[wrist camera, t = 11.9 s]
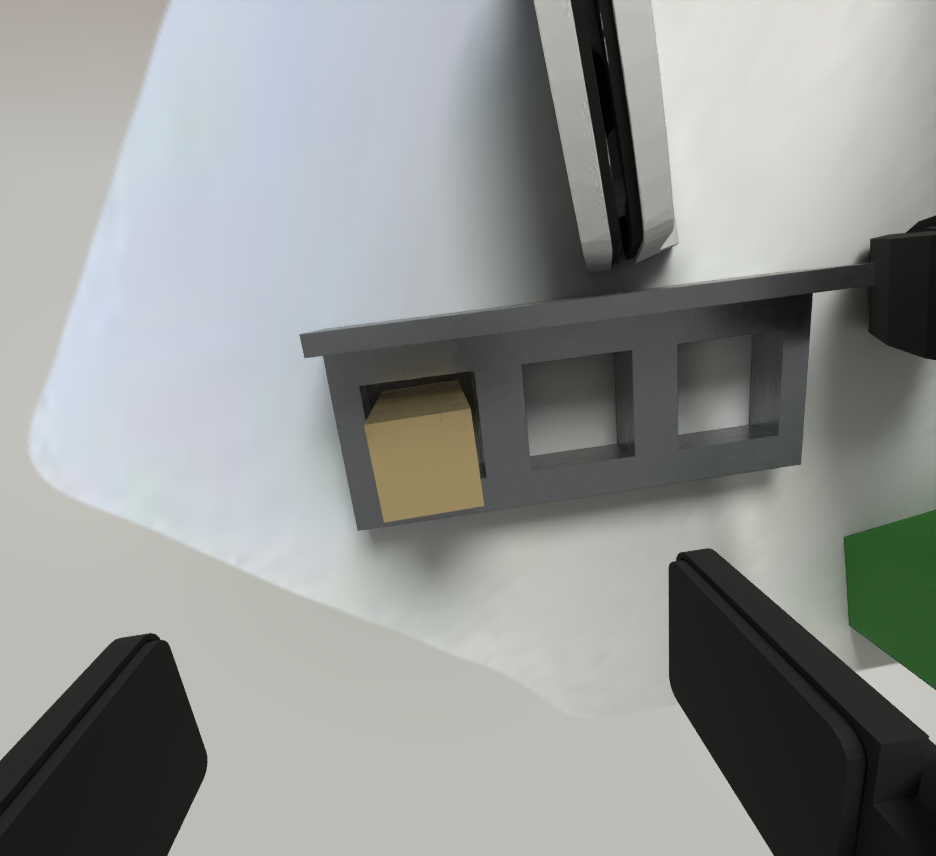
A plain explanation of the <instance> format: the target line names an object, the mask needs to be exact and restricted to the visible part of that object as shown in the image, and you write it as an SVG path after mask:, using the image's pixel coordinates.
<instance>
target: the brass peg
mask: <svg viewBox="0 0 936 856" xmlns="http://www.w3.org/2000/svg"><path fill="white" fill-rule="evenodd" d="M364 427H365V432H366V437H367V442H368V447H369V452H370V457H371V462H372V466H373V471H374V476H375V481H376V486H377V491H378V496H379V501H380V506H381V511H382V515H383V520H384V523H385V522H391V521H397V520H403V519H409V518H415V517H421V516H427V515H433V514H439V513H445V512H451V511H457V510H463V509H469V508H475V507H481V506H484V500H483V493H482V486H481V479H480V472H479V464H478V457H477V450H476V443H475V436H474V429H473V422H472V415H471V408H470V406H469V404H468V402H467V399H466V397H465V395H464V393H463V391H462V388H461V386H460V384H459V382H458V380H453V381H446V382H440V383H433V384H427V385H420V386H413V387H407V388H400V389H394V390H387V391H382V392H381V394H380V396H379V398H378V399H377V401H376V403H375V405H374V407H373V409H372V411H371V413H370V415H369V417H368V418H367V420H366V422H365V424H364Z"/></svg>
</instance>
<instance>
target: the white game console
mask: <svg viewBox="0 0 936 856" xmlns="http://www.w3.org/2000/svg"><path fill="white" fill-rule="evenodd" d="M534 6H535V11H536V16H537V21H538V26H539V31H540V37H541V42H542V47H543V52H544V57H545V62H546V67H547V73H548V78H549V83H550V88H551V93H552V98H553V103H554V108H555V113H556V119H557V124H558V129H559V134H560V139H561V144H562V149H563V154H564V159H565V164H566V169H567V174H568V179H569V185H570V190H571V195H572V200H573V205H574V210H575V215H576V220H577V225H578V230H579V235H580V240H581V245H582V250H583V255H584V258H585V262H586V266H587V269H588V272H597V271H610V270H611V265H612V264H615V263H618V258H619V253H620V249H621V234H620V226H619V218H621V217H623V216H626V220H624V221H622V226H621V232H622V238H623V244H624V250H625V256H626V260H630V259H633V258H634V261H635V264H636V263H638V262H640V261H642V260H644V259H646V258H649V257H651V256H653V255H655V254H657V253H659V252H661V251H664V250H666V249H668V248H670V247H672V246H674V245H677V244H678V236H677V229H676V222H675V215H674V208H673V198H672V186H671V174H670V163H669V153H668V142H667V132H666V122H665V113H664V105H663V96H662V87H661V78H660V69H659V61H658V52H657V44H656V36H655V28H654V20H653V12H652V6H651V0H534ZM592 51H595V52H597V53H598V54H600V55H601V57H602V59H603V61H604V66H605V71H606V77H607V83H608V89H609V95H610V101H611V108H612V114H613V120H614V126H613V129H612V131H611V133H610V135H609V136H608V137H607V138H606V134H605V128H604V122H603V116H602V110H601V104H600V98H599V92H598V86H597V80H596V73H595V67H594V61H593V55H592Z"/></svg>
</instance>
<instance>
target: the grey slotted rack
mask: <svg viewBox="0 0 936 856" xmlns="http://www.w3.org/2000/svg"><path fill="white" fill-rule="evenodd" d="M875 272H876V262H874V263H864V264H855V265H845V266H835V267H825V268H815V269H806V270H796V271H786V272H777V273H769V274H761V275H753V276H745V277H737V278H729V279H721V280H713V281H705V282H697V283H689V284H681V285H673V286H665V287H657V288H649V289H641V290H633V291H625V292H617V293H609V294H601V295H593V296H585V297H577V298H569V299H561V300H553V301H545V302H537V303H529V304H521V305H513V306H505V307H497V308H489V309H481V310H473V311H465V312H457V313H449V314H441V315H433V316H425V317H417V318H409V319H401V320H393V321H385V322H377V323H369V324H361V325H353V326H345V327H337V328H329V329H324V330H319V331H314V332H309V333H304V334H300V339H301V343H302V348H303V353H304V358H309V357H316V356H323V358H324V363H325V368H326V373H327V378H328V383H329V388H330V393H331V398H332V403H333V408H334V413H335V418H336V424H337V429H338V434H339V439H340V444H341V449H342V454H343V459H344V464H345V469H346V474H347V479H348V484H349V489H350V494H351V499H352V504H353V509H354V514H355V519H356V524H357V529H358V531H359V530H365V529H372V528H379V527H386V526H392V525H399V524H406V523H412V522H419V521H426V520H432V519H439V518H446V517H452V516H459V515H466V514H473V513H479V512H486V511H493V510H499V509H506V508H513V507H519V506H526V505H533V504H539V503H546V502H553V501H559V500H566V499H573V498H580V497H586V496H593V495H600V494H606V493H613V492H620V491H626V490H633V489H640V488H646V487H653V486H660V485H667V484H673V483H680V482H687V481H693V480H700V479H707V478H713V477H720V476H727V475H733V474H740V473H747V472H754V471H760V470H767V469H774V468H780V467H787V466H794V465H800V464H801V455H802V440H803V426H804V411H805V397H806V383H807V368H808V354H809V339H810V325H811V311H812V296H813V293H816V292H824V291H832V290H840V289H847V288H855V287H863V286H871V285H874V282H875ZM749 334H753V337H752V363H751V390H750V416H749V425H746V426H739V427H732V428H725V429H718V430H711V431H704V432H697V433H690V434H683V435H678V344H681V343H688V342H696V341H703V340H711V339H719V338H726V337H734V336H741V335H749ZM613 352H614V364H615V390H616V416H617V443H618V444H613V445H606V446H599V447H592V448H585V449H578V450H571V451H565V452H558V453H551V454H544V455H537V456H530V455H529V444H528V433H527V421H526V410H525V399H524V388H523V377H522V366H521V365H522V364H529V363H537V362H545V361H552V360H560V359H567V358H575V357H582V356H590V355H598V354H605V353H613ZM469 371H471V379H472V387H473V396H474V404H475V413H476V421H477V429H478V438H479V446H480V455H481V464H479V472H480V479H481V486H482V493H483V500H484V506H481V507H475V508H469V509H463V510H457V511H451V512H445V513H439V514H433V515H427V516H421V517H415V518H409V519H403V520H397V521H391V522H385V523H384V520H383V515H382V511H381V506H380V501H379V496H378V491H377V486H376V481H375V476H374V471H373V466H372V462H371V457H370V452H369V447H368V442H367V437H366V432H365V427H364V424H365V422H366V420H367V418H368V417H369V415H370V413H371V409H370V403H369V398H368V392H367V386H366V385H371V384H378V383H386V382H393V381H401V380H408V379H416V378H424V377H431V376H439V375H446V374H454V373H461V372H469Z"/></svg>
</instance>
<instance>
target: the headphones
mask: <svg viewBox="0 0 936 856" xmlns="http://www.w3.org/2000/svg"><path fill="white" fill-rule="evenodd" d="M874 262H876V272H875V282H874V285H871V286H869V333H871V334H872V335H873V336H875V337H876V338H878V339H879V340H881V341H882V342H883V343H885V344H886V345H888V346H891V347H894V348H897V349H900V350H903V351H906V352H909V353H911V354H914V355H917V356H920V357H923V358H927V359H933V360H936V216H933V217H930V218H928V219H925V220H922V221H919V222H918V223H917V224H915V225H914V226H913V227H912V228H911V229H910V230H908V231H907V232H906V233H902V234H891V235H885V236H881V237H877V238H873V239H870V263H874Z"/></svg>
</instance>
